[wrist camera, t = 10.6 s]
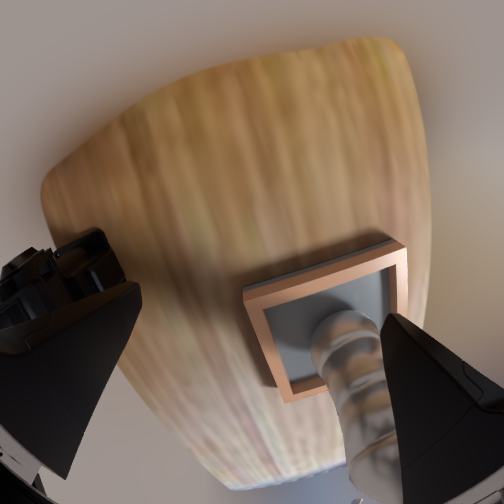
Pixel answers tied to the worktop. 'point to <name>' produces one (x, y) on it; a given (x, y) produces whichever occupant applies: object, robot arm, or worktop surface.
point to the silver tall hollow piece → (360, 401)
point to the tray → (322, 308)
